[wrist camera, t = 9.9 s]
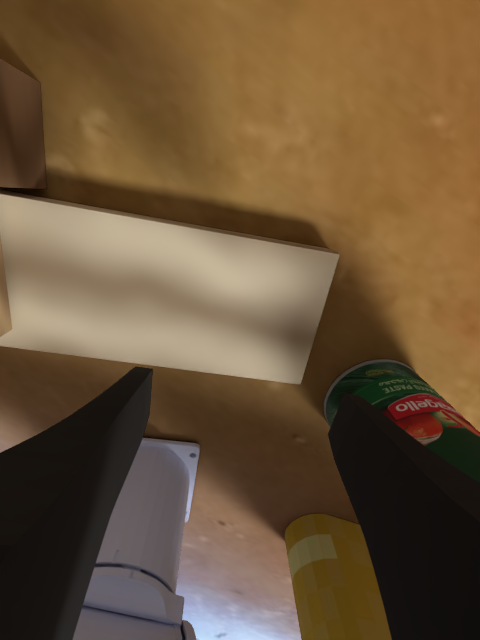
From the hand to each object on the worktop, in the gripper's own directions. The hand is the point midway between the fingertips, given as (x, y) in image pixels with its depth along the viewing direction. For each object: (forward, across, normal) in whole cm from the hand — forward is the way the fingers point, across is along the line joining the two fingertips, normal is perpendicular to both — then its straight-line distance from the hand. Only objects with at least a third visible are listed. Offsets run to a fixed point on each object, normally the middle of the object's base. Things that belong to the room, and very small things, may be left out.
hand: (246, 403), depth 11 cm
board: (+10, +8, 0) cm, 13 cm away
